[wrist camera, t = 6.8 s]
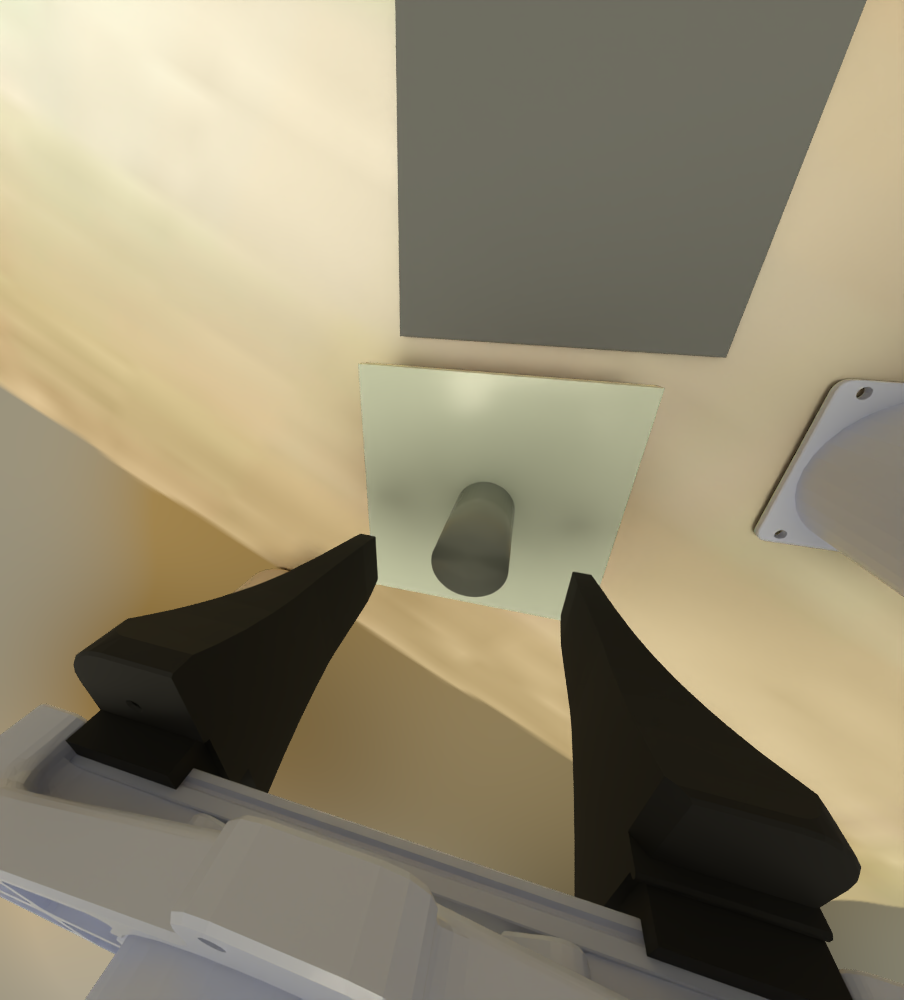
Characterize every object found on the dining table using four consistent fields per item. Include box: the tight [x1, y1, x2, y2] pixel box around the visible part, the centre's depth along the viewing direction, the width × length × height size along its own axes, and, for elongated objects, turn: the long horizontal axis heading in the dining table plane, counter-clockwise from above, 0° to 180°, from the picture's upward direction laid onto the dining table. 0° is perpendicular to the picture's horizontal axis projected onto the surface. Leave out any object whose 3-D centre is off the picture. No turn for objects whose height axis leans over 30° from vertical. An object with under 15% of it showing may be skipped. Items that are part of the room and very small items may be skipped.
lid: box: [358, 362, 665, 620], centre depth 14 cm, size 12×12×5 cm
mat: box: [395, 0, 867, 358], centre depth 13 cm, size 15×15×1 cm
